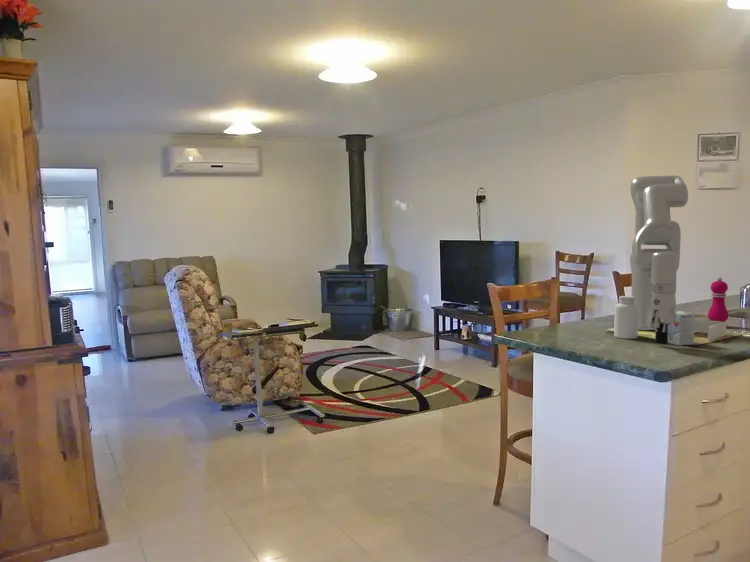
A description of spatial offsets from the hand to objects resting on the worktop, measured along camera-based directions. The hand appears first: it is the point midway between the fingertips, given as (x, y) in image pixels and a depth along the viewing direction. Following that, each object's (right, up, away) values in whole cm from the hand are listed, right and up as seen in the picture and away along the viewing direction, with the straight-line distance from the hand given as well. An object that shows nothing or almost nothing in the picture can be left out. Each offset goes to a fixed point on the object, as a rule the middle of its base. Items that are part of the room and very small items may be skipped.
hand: (661, 343), depth 193 cm
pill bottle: (-4, 0, +17) cm, 18 cm away
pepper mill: (+42, +2, +39) cm, 57 cm away
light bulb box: (+8, -1, +8) cm, 11 cm away
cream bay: (+21, +1, +19) cm, 29 cm away
